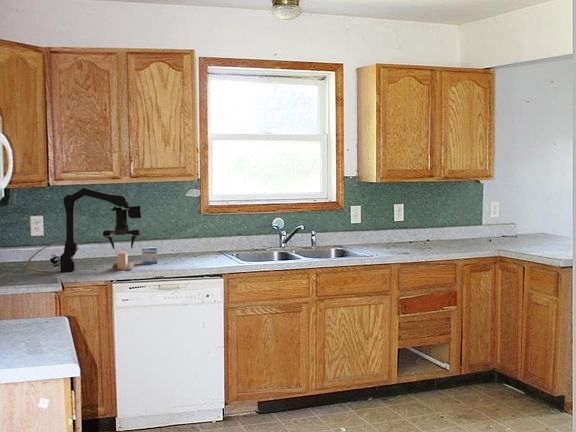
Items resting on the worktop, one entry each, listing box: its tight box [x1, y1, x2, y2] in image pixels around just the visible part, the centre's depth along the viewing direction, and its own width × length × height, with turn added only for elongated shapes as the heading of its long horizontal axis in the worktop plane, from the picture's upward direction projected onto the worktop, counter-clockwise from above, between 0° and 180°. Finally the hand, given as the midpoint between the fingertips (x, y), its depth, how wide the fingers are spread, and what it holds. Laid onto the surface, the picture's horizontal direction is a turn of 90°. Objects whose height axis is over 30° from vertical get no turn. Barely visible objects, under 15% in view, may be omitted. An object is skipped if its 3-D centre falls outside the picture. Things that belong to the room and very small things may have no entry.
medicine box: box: [141, 246, 158, 265], centre depth 375 cm, size 8×4×9 cm, turn 106°
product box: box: [117, 250, 129, 269], centre depth 359 cm, size 7×4×8 cm, turn 4°
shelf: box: [111, 261, 135, 272], centre depth 360 cm, size 10×11×3 cm
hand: (122, 248), depth 359 cm, fingers open, 9 cm apart
